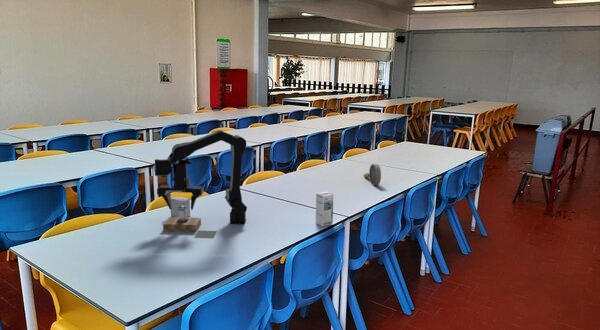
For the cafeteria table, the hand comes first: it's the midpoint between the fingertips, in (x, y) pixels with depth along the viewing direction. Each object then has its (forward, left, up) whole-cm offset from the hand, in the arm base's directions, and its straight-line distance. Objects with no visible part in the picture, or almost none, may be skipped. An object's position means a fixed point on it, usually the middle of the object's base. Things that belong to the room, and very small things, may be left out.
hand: (181, 209), depth 188 cm
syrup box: (-62, -11, -9) cm, 64 cm away
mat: (-12, +6, -9) cm, 16 cm away
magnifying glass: (-96, -87, -9) cm, 130 cm away
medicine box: (+5, -16, -9) cm, 19 cm away
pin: (0, 0, -9) cm, 9 cm away
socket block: (0, 0, -9) cm, 9 cm away
